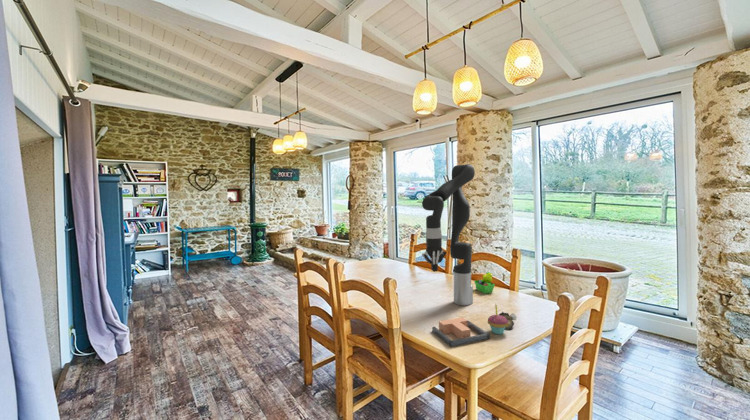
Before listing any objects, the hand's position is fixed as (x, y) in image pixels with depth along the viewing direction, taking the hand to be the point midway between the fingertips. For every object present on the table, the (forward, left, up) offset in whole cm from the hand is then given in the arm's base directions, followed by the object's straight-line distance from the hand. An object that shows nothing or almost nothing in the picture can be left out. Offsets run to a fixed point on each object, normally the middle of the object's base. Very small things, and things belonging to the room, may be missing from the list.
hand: (434, 271), depth 160 cm
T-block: (+2, +23, -22) cm, 32 cm away
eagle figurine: (-23, +24, -22) cm, 40 cm away
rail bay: (+2, +24, -22) cm, 32 cm away
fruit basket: (-45, -20, -22) cm, 54 cm away
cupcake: (-15, +28, -22) cm, 39 cm away
